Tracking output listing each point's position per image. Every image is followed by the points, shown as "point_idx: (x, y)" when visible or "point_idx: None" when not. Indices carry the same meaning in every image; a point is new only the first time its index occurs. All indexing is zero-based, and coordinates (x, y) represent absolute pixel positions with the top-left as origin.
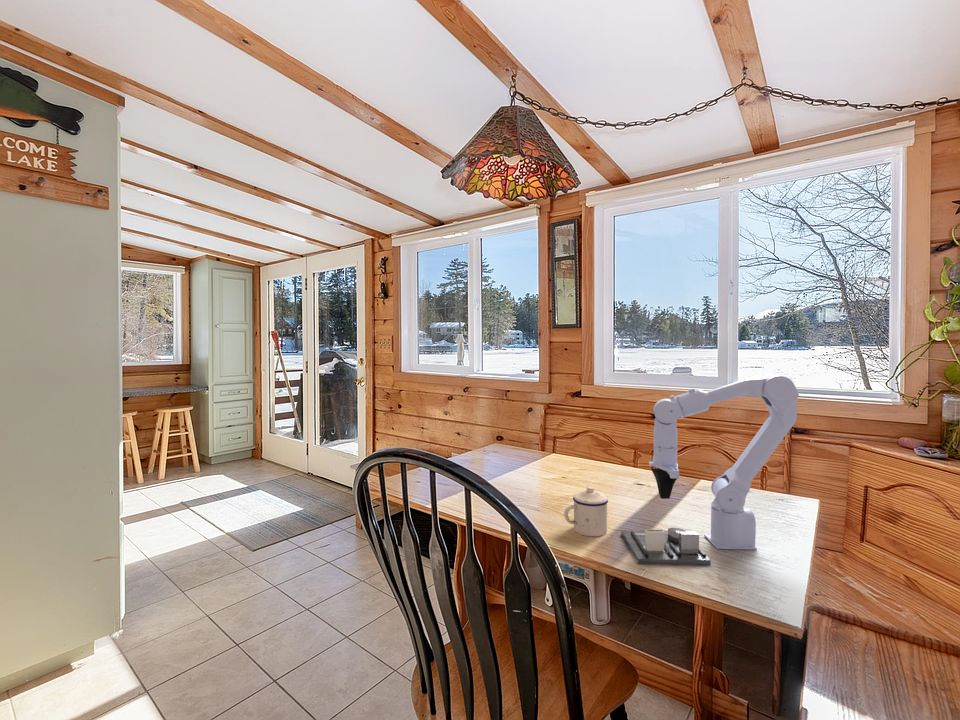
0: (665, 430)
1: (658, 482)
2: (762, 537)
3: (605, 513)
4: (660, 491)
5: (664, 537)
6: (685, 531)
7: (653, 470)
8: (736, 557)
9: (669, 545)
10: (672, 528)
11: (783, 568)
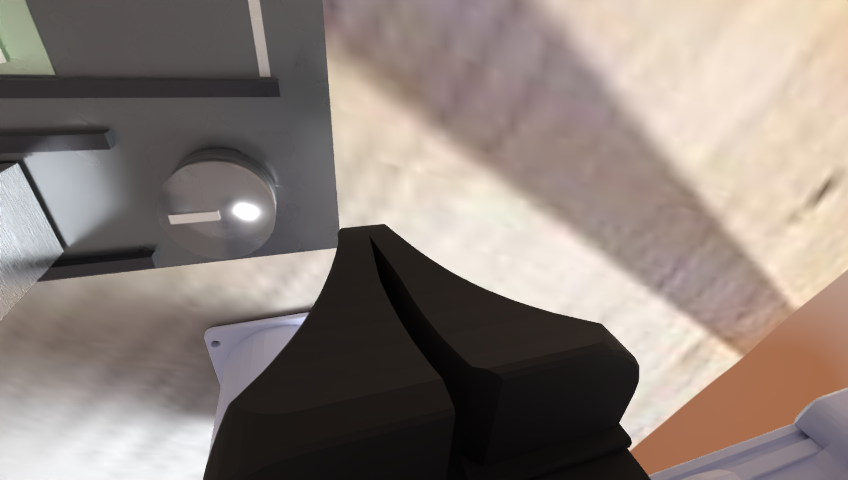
0: None
1: (368, 303)
2: None
3: None
4: (337, 255)
5: (231, 133)
6: (227, 254)
7: (547, 376)
8: (143, 370)
9: (102, 128)
10: (257, 198)
11: (95, 467)
